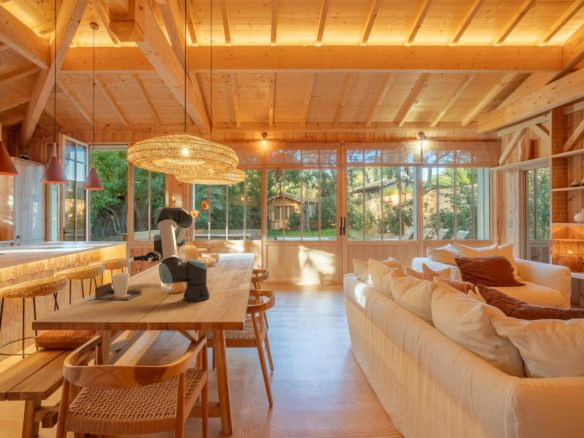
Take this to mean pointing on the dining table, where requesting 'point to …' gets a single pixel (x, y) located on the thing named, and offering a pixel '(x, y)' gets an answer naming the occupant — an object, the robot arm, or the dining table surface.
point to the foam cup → (120, 284)
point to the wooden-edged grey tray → (108, 293)
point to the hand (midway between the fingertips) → (138, 260)
